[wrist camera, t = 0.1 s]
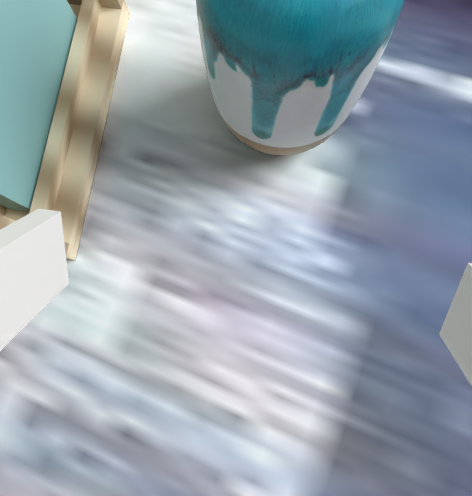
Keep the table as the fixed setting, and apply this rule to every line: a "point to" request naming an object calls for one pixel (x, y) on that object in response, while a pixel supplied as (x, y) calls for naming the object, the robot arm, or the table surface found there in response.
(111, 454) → the table surface
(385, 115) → the table surface
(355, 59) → the vase
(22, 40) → the teal rectangular panel
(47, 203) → the rack
